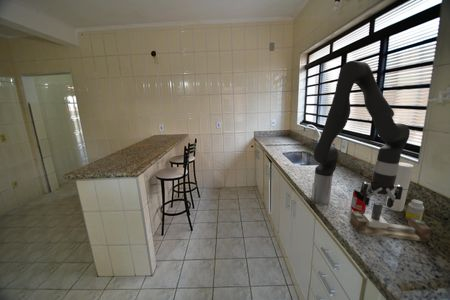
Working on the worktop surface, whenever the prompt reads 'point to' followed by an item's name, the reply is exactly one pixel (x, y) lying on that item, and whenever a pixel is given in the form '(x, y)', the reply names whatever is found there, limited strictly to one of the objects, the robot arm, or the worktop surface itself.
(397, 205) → the cylindrical container
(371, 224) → the carriage
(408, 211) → the supplement bottle
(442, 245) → the worktop surface
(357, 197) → the beverage can
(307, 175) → the worktop surface
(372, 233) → the rail
